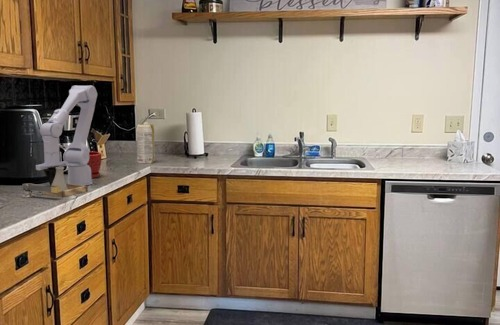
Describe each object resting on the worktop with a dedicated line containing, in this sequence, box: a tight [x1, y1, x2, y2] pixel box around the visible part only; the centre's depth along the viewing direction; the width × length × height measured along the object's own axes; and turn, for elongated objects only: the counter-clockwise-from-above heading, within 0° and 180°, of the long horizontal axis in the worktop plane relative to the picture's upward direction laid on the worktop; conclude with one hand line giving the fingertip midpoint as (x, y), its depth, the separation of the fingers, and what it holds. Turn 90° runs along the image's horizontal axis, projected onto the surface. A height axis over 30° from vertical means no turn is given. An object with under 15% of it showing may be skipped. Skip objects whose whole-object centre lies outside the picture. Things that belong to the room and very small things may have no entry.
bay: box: [42, 183, 89, 198], centre depth 187 cm, size 13×10×2 cm
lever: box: [21, 182, 61, 193], centre depth 178 cm, size 16×4×2 cm, turn 71°
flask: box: [51, 166, 68, 191], centre depth 187 cm, size 7×7×10 cm
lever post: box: [21, 190, 35, 198], centre depth 180 cm, size 4×4×3 cm
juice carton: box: [136, 122, 156, 165], centre depth 272 cm, size 9×8×24 cm
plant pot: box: [87, 150, 102, 179], centre depth 223 cm, size 13×13×12 cm
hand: (53, 185), depth 190 cm, fingers closed, pressing on flask
